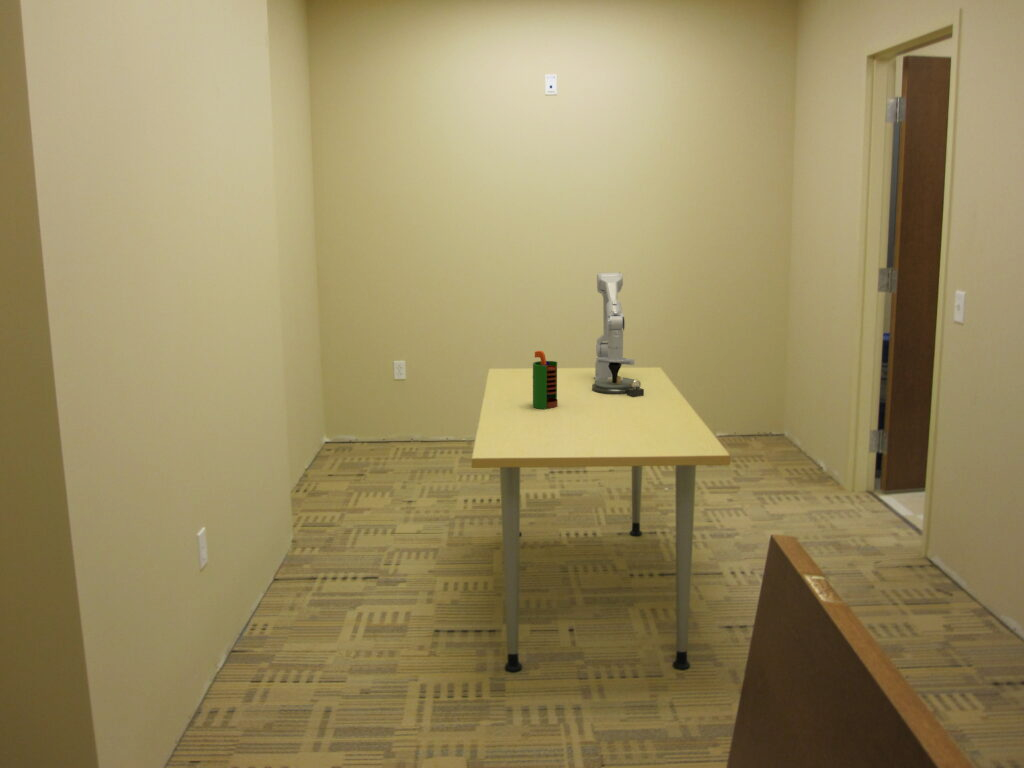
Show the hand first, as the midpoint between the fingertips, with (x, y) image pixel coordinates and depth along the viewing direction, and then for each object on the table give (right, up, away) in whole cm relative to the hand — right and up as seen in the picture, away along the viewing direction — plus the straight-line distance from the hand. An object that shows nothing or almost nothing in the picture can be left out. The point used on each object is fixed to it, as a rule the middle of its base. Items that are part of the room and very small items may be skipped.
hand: (615, 382), depth 343 cm
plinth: (+1, -3, +6) cm, 7 cm away
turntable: (+1, -1, +6) cm, 6 cm away
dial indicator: (+7, -5, -5) cm, 10 cm away
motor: (-27, -9, -19) cm, 34 cm away
